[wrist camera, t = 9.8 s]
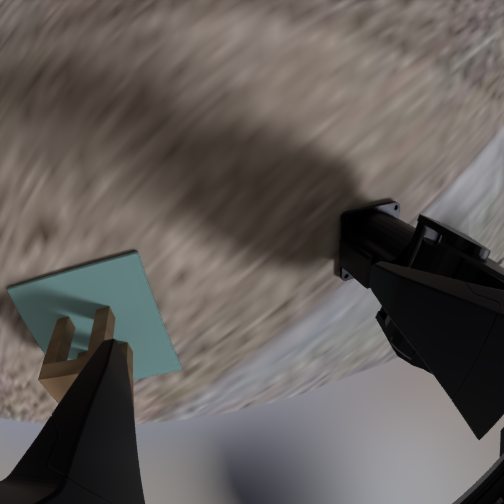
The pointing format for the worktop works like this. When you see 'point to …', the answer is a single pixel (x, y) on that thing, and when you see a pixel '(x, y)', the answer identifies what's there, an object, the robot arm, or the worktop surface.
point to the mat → (96, 297)
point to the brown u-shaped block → (65, 371)
